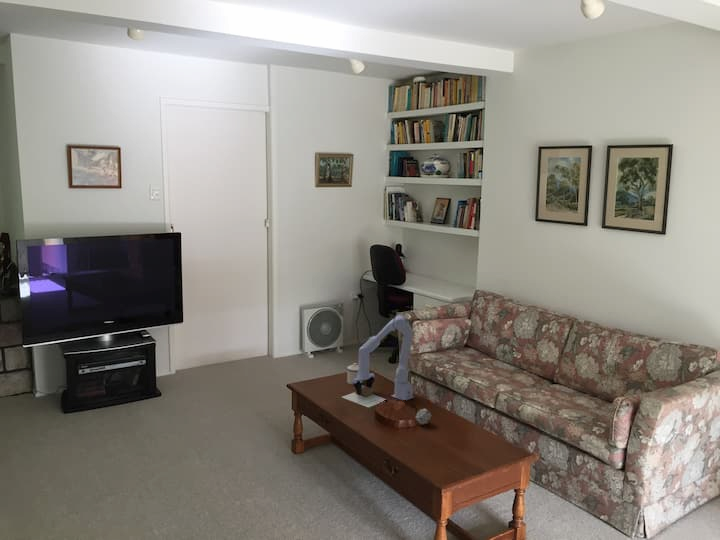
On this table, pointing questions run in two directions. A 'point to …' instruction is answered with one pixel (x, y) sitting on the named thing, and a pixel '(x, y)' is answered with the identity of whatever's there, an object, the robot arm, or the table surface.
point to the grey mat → (364, 399)
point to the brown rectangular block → (365, 391)
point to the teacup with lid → (352, 373)
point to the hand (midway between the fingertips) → (363, 392)
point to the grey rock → (423, 416)
